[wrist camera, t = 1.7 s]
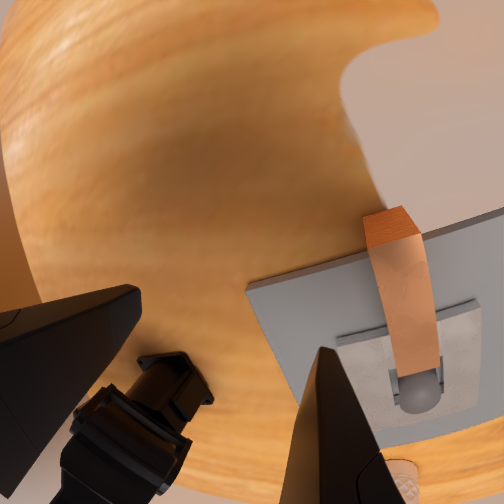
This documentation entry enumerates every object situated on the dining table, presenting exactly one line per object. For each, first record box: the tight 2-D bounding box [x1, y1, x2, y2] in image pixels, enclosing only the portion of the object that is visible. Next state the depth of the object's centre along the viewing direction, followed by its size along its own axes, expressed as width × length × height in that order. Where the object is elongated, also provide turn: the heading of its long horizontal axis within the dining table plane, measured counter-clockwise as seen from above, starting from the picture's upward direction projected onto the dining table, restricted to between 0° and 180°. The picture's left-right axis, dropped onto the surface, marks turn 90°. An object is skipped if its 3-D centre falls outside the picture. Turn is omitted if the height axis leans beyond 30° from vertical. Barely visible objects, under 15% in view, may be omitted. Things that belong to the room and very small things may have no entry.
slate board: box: [245, 207, 504, 449], centre depth 18 cm, size 20×20×4 cm
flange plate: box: [336, 206, 481, 431], centre depth 16 cm, size 18×10×5 cm, turn 25°
